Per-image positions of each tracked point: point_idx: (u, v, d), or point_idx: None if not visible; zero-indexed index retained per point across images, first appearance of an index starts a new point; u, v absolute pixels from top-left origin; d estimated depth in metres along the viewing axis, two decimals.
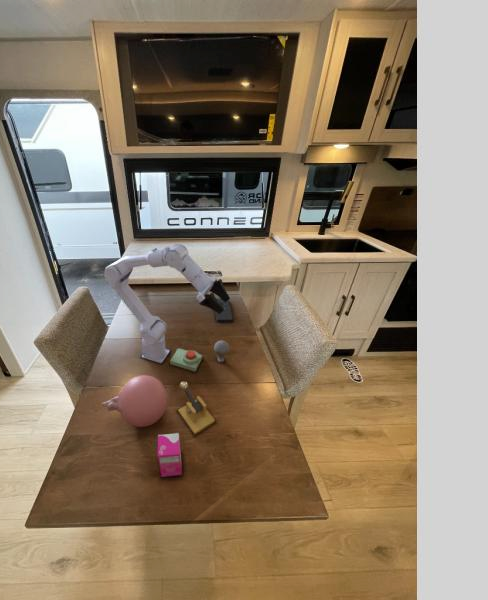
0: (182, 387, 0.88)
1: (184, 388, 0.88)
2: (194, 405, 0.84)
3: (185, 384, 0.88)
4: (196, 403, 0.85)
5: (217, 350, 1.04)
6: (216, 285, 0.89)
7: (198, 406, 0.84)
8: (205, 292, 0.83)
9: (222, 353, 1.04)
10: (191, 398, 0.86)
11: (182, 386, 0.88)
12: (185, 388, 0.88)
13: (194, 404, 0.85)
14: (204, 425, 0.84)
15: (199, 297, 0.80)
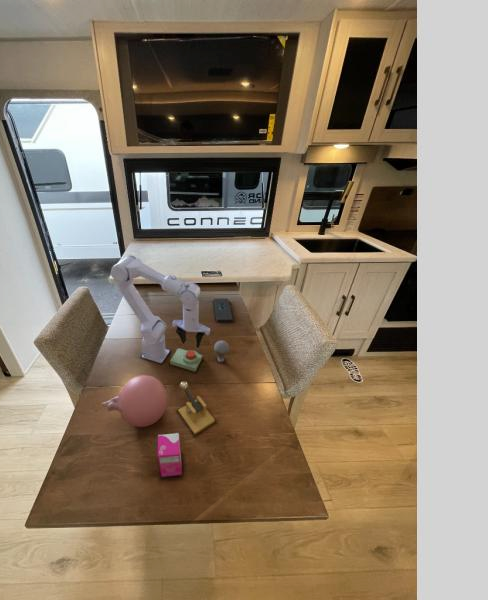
0: (182, 387, 0.88)
1: (184, 388, 0.88)
2: (194, 405, 0.84)
3: (185, 384, 0.88)
4: (196, 403, 0.85)
5: (217, 350, 1.04)
6: None
7: (198, 406, 0.84)
8: None
9: (222, 353, 1.04)
10: (191, 398, 0.86)
11: (182, 386, 0.88)
12: (185, 388, 0.88)
13: (194, 404, 0.85)
14: (204, 425, 0.84)
15: (209, 330, 0.96)
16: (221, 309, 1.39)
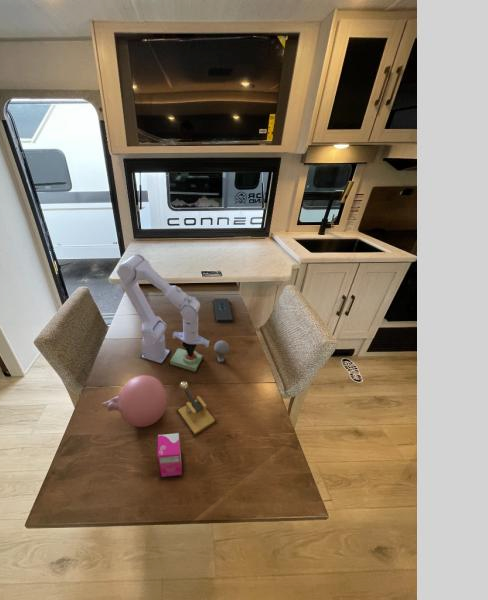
0: (182, 387, 0.88)
1: (184, 388, 0.88)
2: (194, 405, 0.84)
3: (185, 384, 0.88)
4: (196, 403, 0.85)
5: (217, 350, 1.04)
6: None
7: (198, 406, 0.84)
8: None
9: (222, 353, 1.04)
10: (191, 398, 0.86)
11: (182, 386, 0.88)
12: (185, 388, 0.88)
13: (194, 404, 0.85)
14: (204, 425, 0.84)
15: (208, 343, 0.99)
16: (221, 309, 1.39)
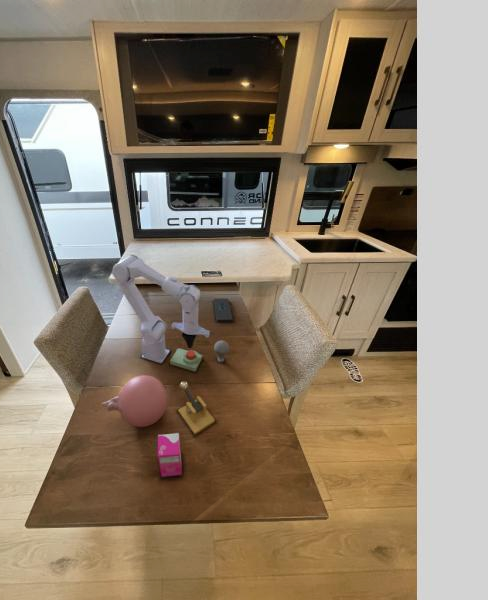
0: (182, 387, 0.88)
1: (184, 388, 0.88)
2: (194, 405, 0.84)
3: (185, 384, 0.88)
4: (196, 403, 0.85)
5: (217, 350, 1.04)
6: None
7: (198, 406, 0.84)
8: None
9: (222, 353, 1.04)
10: (191, 398, 0.86)
11: (182, 386, 0.88)
12: (185, 388, 0.88)
13: (194, 404, 0.85)
14: (204, 425, 0.84)
15: (209, 333, 0.96)
16: (221, 309, 1.39)
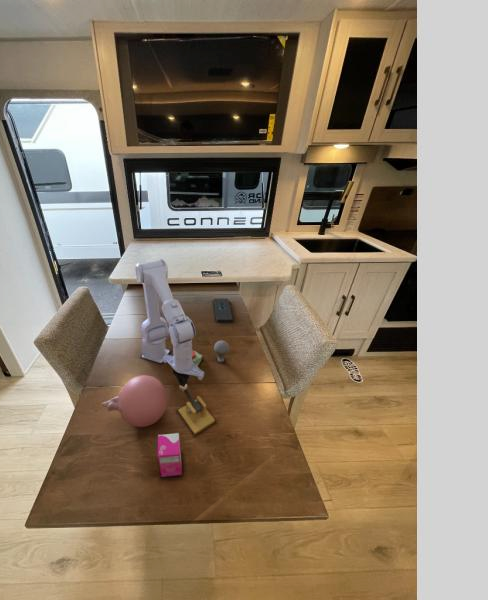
0: (181, 388, 0.88)
1: (183, 389, 0.88)
2: (194, 405, 0.84)
3: None
4: (196, 403, 0.85)
5: (217, 350, 1.04)
6: None
7: (198, 406, 0.84)
8: None
9: (222, 353, 1.04)
10: (191, 398, 0.87)
11: (181, 387, 0.88)
12: (184, 389, 0.88)
13: (194, 404, 0.85)
14: (204, 425, 0.84)
15: (202, 375, 0.81)
16: (221, 309, 1.39)
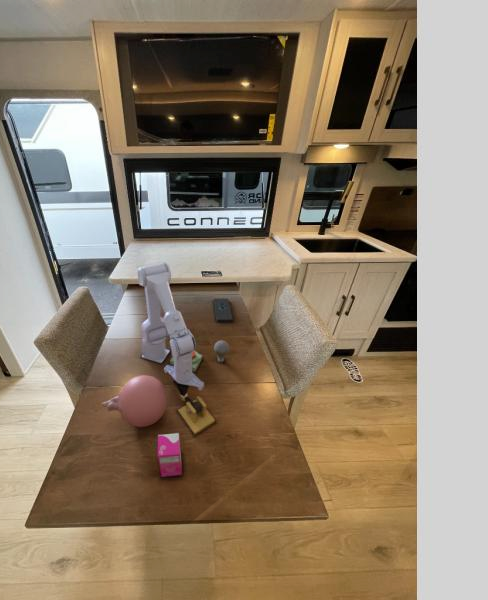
0: (181, 396, 0.91)
1: (183, 396, 0.91)
2: (193, 404, 0.85)
3: None
4: (194, 402, 0.86)
5: (217, 350, 1.04)
6: None
7: (197, 404, 0.85)
8: None
9: (222, 353, 1.04)
10: (190, 401, 0.88)
11: (181, 395, 0.91)
12: (184, 396, 0.91)
13: (192, 403, 0.85)
14: (204, 425, 0.84)
15: (202, 385, 0.83)
16: (221, 309, 1.39)
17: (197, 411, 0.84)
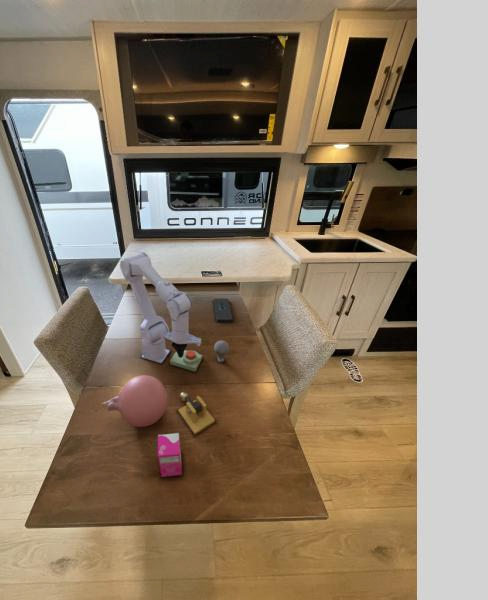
0: (181, 396, 0.91)
1: (183, 396, 0.91)
2: (193, 404, 0.85)
3: (183, 393, 0.92)
4: (194, 402, 0.86)
5: (217, 350, 1.04)
6: None
7: (197, 404, 0.85)
8: None
9: (222, 353, 1.04)
10: (190, 401, 0.88)
11: (181, 395, 0.91)
12: (184, 396, 0.91)
13: (192, 403, 0.85)
14: (204, 425, 0.84)
15: (200, 341, 0.91)
16: (221, 309, 1.39)
17: (197, 411, 0.84)
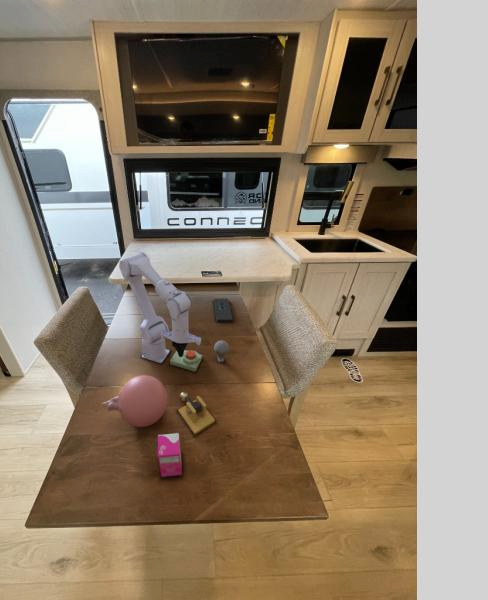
0: (181, 396, 0.91)
1: (183, 396, 0.91)
2: (193, 404, 0.85)
3: (183, 393, 0.92)
4: (194, 402, 0.86)
5: (217, 350, 1.04)
6: None
7: (197, 404, 0.85)
8: None
9: (222, 353, 1.04)
10: (190, 401, 0.88)
11: (181, 395, 0.91)
12: (184, 396, 0.91)
13: (192, 403, 0.85)
14: (204, 425, 0.84)
15: (200, 340, 0.92)
16: (221, 309, 1.39)
17: (197, 411, 0.84)
